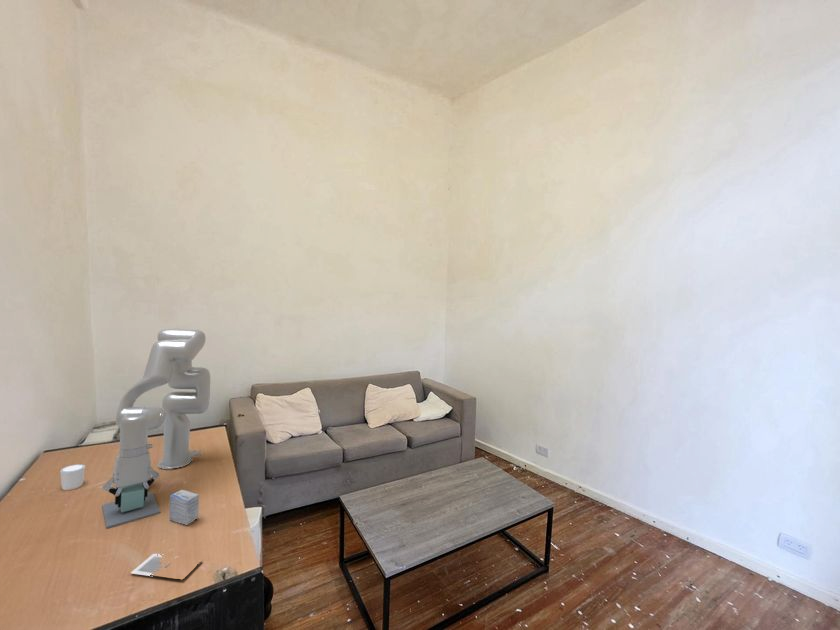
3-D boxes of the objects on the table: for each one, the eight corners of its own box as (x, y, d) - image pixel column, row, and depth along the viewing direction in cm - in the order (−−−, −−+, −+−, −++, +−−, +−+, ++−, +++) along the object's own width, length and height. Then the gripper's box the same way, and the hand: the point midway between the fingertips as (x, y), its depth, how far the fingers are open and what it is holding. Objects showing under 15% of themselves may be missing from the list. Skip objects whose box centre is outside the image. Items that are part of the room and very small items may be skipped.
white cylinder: (72, 491, 135) (73, 472, 135) (54, 490, 135) (54, 471, 135) (89, 482, 142) (90, 464, 142) (72, 481, 142) (72, 463, 142)
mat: (151, 493, 137) (151, 492, 137) (160, 513, 126) (160, 511, 126) (102, 506, 127) (102, 504, 127) (106, 528, 116) (106, 526, 116)
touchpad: (182, 584, 97) (183, 576, 97) (129, 577, 98) (130, 569, 98) (202, 563, 104) (203, 556, 104) (153, 557, 106) (154, 549, 106)
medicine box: (198, 519, 124) (199, 494, 123) (186, 526, 120) (187, 500, 119) (181, 513, 126) (182, 488, 126) (168, 520, 122) (169, 495, 122)
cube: (140, 499, 131) (141, 482, 131) (143, 506, 127) (144, 489, 126) (119, 504, 127) (119, 487, 126) (121, 512, 122) (121, 494, 122)
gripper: (161, 441, 135) (159, 490, 135) (99, 452, 123) (97, 506, 123) (166, 448, 129) (163, 498, 130) (101, 460, 117) (99, 516, 118)
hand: (131, 501), depth 127 cm, fingers closed on cube, 5 cm apart
